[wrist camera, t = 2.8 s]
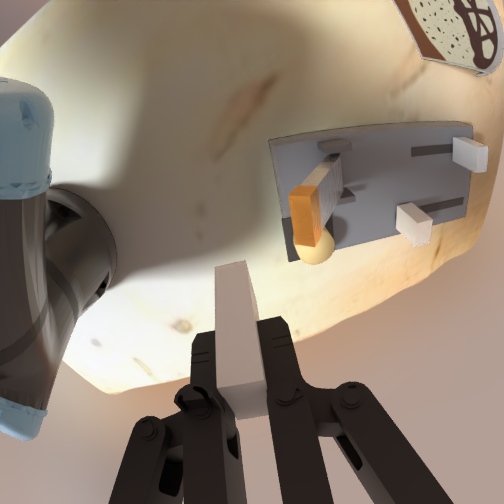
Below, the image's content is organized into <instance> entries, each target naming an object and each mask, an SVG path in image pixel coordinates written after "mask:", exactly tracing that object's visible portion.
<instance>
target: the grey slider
mask: <svg viewBox="0 0 504 504" xmlns="http://www.w3.org/2000/svg"><path fill="white" fill-rule="evenodd" d="M488 149H489V147H488V146H486V145H484V144H481V143H479V142H477V141H474V140H472V139H469V138H467V137H453V159H452V161H454V162H456V163H458V164H460V165H462V166H463V167H465V168H467V169H469V170H471V171H473V172H474V173H481V172H487V163H488Z"/></svg>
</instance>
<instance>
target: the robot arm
mask: <svg viewBox="0 0 504 504" xmlns="http://www.w3.org/2000/svg"><path fill="white" fill-rule="evenodd" d="M53 127H54V111H53V107H52V104H51V102H50V100H49V98H48V97H47V96H46V95H45V94H44V92H42V91H41V90H40V89H38V88H36V87H35V86H32V85H30V84H27V83H24V82H21V81H17V80H13V79H8V78H4V77H0V431H1V432H3V433H5V434H8V435H10V436H12V437H14V438H17V439H20V440H24V441H29V440H33V439H34V438H35V437H36V436H37V435H38V433H39V430H40V427H41V424H42V421H43V418H44V417H45V416H46V415H47V409H46V408H47V405H48V401H49V398H50V394H51V391H52V387H53V385H54V381H55V378H56V375H57V372H58V369H59V366H60V364H61V361H62V358H63V355H64V352H65V350H66V347H67V344H68V342H69V339H70V337H71V334H72V332H73V329H74V327H75V324H76V322H77V320H78V318H79V317H80V316H81V315H82V314H83V313H84V312H85V311H86V310H87V309H89V308H90V307H91V306H92V305H93V304H94V303H95V302H96V301H97V300H98V299H99V298H100V297H101V296H102V295H103V294H104V293H105V291H106V290H107V288H108V286H109V284H110V282H111V280H112V277H113V275H114V272H115V269H116V262H117V254H116V247H115V243H114V239H113V237H112V234H111V232H110V230H109V228H108V226H107V224H106V223H105V221H104V219H103V218H102V217H101V215H100V214H99V213H98V212H97V211H96V210H95V209H94V208H93V207H92V206H91V205H90V204H89V203H88V202H87V201H85V200H84V199H82V198H81V197H79V196H77V195H76V194H74V193H71V192H69V191H66V190H62V189H54V188H50V189H48V188H49V185H50V183H51V179H52V171H51V169H50V154H51V143H52V135H53ZM191 355H192V356H191V375H190V384H188V385H185V386H184V387H183V388H181V389H180V390H179V391H178V392H177V394H176V395H175V399H174V403H175V404H176V405H177V406H178V407H179V408H180V409H181V411H180V412H178V413H176V414H174V415H171V416H168V417H166V418H163V419H161V420H160V419H159V418H157V417H155V416H146V417H144V418H141V419H140V420H139V421H138V422H137V423H136V424H135V426H134V428H133V430H132V434H131V436H130V439H129V442H128V445H127V448H126V451H125V454H124V457H123V459H122V462H121V466H120V469H119V472H118V475H117V478H116V481H115V484H114V487H113V490H112V494H111V497H110V500H109V504H182V501H183V497H184V504H247V498H246V490H245V482H244V474H243V464H242V455H241V446H240V436H239V431H238V429H237V427H236V424H235V417H236V418H237V420H241V419H248V418H254V417H259V416H265V415H269V420H270V427H271V433H272V439H273V445H274V452H275V458H276V464H277V470H278V476H279V483H280V489H281V495H282V501H283V504H334V502H333V498H332V494H331V489H330V485H329V482H328V477H327V472H326V468H325V464H324V461H323V456H322V452H321V447H320V443H319V440H318V436H322V437H333V438H334V440H335V441H336V443H337V445H338V446H339V448H340V450H341V451H342V453H343V455H344V456H345V458H346V459H347V461H348V463H349V464H350V466H351V467H352V469H353V470H354V472H355V474H356V475H357V477H358V479H359V480H360V482H361V483H362V485H363V486H364V488H365V490H366V491H367V493H368V494H369V496H370V498H371V499H372V501H373V502H374V504H453V502H452V501H451V499H450V498H449V497H448V495H447V494H446V492H445V491H444V490H443V488H442V487H441V485H440V484H439V483H438V482H437V480H436V479H435V477H434V476H433V475H432V473H431V472H430V470H429V469H428V468H427V466H426V465H425V464H424V462H423V461H422V460H421V458H420V457H419V455H418V454H417V453H416V451H415V450H414V449H413V447H412V446H411V444H410V443H409V442H408V440H407V439H406V438H405V436H404V435H403V434H402V432H401V431H400V430H399V428H398V427H397V426H396V424H395V423H394V422H393V420H392V419H391V418H390V416H389V415H388V414H387V412H386V411H385V410H384V408H383V407H382V406H381V404H380V403H379V402H378V400H377V399H376V398H375V396H374V395H373V394H372V392H371V391H370V390H369V389H368V388H367V387H366V386H365V385H364V384H362V383H359V382H346V383H344V384H341V385H340V386H339V387H337V388H336V389H322V388H315V387H313V386H311V385H309V384H308V383H306V382H305V380H304V379H303V378H302V375H301V372H300V369H299V364H298V361H297V357H296V353H295V349H294V345H293V342H292V338H291V334H290V330H289V327H288V324H287V323H286V322H285V320H284V319H283V318H282V317H281V316H278V317H274V318H269V319H265V320H260V319H259V314H258V308H257V302H256V298H255V294H254V291H253V287H252V283H251V279H250V276H249V272H248V268H247V264H246V260H244V261H240V262H235V263H231V264H226V265H222V266H218V267H215V330H214V331H209V332H204V333H198V334H197V335H196V337H195V339H194V341H193V343H192V351H191Z"/></svg>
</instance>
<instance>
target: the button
mask: <svg viewBox="0 0 504 504" xmlns="http://www.w3.org/2000/svg"><path fill="white" fill-rule="evenodd" d="M293 244H294V246H295V248H296V251H297V253H298V255H299V257H300V259H301V260H302V261H303V262H305V263H307V264H311V265H316V264H320V263H322V262H324V261H326V260H327V259H328V258H329V257H330V256H331V255H332V253H333V251H334V248H335V242H334V239H333V238H332V236H331V235H330V233H329V232H328V230H327V229H326V227H325V226H324V228H323V230H322V236H321V238H320V239H319V241H318V243H317V245H316V247H309V246H301V245H295V239H294V234H293Z"/></svg>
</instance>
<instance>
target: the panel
mask: <svg viewBox="0 0 504 504" xmlns="http://www.w3.org/2000/svg"><path fill="white" fill-rule="evenodd" d="M453 137H467V138H469V139H472V140H473V126H470V125H467V124H464V123H461V122H458V121H428V122H405V123H390V124H378V125H367V126H358V127H349V128H341V129H333V130H326V131H319V132H312V133H306V134H300V135H294V136H288V137H283V138H277V139H272V140H269V145H270V150H271V156H272V161H273V166H274V172H275V177H276V183H277V188H278V194H279V199H280V205H281V211H282V217H283V219H282V225H283V231H284V237H285V243H286V249H287V255H288V261H289V262H292V261H296V260H301V259H300V257H299V255H298V253H297V251H296V248H295V246H294V244H293V234H294V232H293V225H292V218H291V212H290V205H289V199H288V195H289V194H290V193H291V192H292V190H293V189H294V188H295V187H296V186H297V185H301V184H302V183H303V181H304V180H305V179H306V178H307V177H308V176H309V175H310V174H311V172H312V171H313V170H314V169H315V168H316V167H317V166H318V164H319V163H320V162H321V161H322V160H323V159H324V158H325V157H326V155H329V154H333V153H339V152H340V153H341V163H342V175H343V188H344V191H343V193H342V195H341V197H340V199H339V201H338V203H337V204H336V206H335V208H334V210H333V212H332V214H331V215H330V217H329V219H328V221H327V223H326V225H325V227H326V229H327V230H328V232H329V233H330V235H331V236H332V238H333V239H334V242H335V248H334V250H337V249H342V248H346V247H350V246H354V245H358V244H362V243H366V242H370V241H374V240H378V239H382V238H386V237H390V236H394V235H398V234H401V233H400V232H399V231H398V230H397V229H396V218H397V205H402V204H407V203H413V204H414V205H416V206H417V207H418V208H419V209H421V210H422V211H423V212H424V213H426V214H427V215H428V216H429V217H431V218H432V219H433V222H432V226H433V225H436V224H440V223H444V222H448V221H452V220H455V219H459V218H463V217H465V216H466V209H467V203H468V195H469V187H470V177H471V170H469V169H467V168H465V167H463V166H462V165H460V164H458V163H456V162H454V161H452V159H453ZM333 252H334V251H333Z"/></svg>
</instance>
